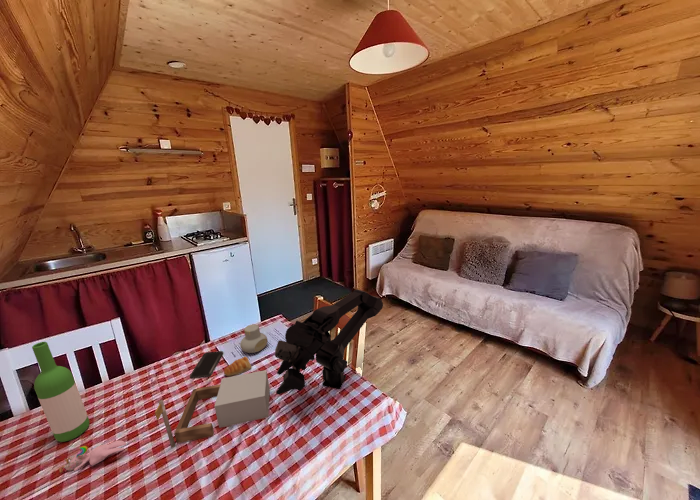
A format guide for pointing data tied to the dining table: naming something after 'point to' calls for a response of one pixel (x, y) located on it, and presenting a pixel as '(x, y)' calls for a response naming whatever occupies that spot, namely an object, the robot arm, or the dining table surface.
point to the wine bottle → (59, 396)
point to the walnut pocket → (189, 417)
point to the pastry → (238, 367)
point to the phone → (206, 365)
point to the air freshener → (253, 339)
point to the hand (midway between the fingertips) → (277, 383)
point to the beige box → (242, 398)
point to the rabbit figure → (92, 455)
